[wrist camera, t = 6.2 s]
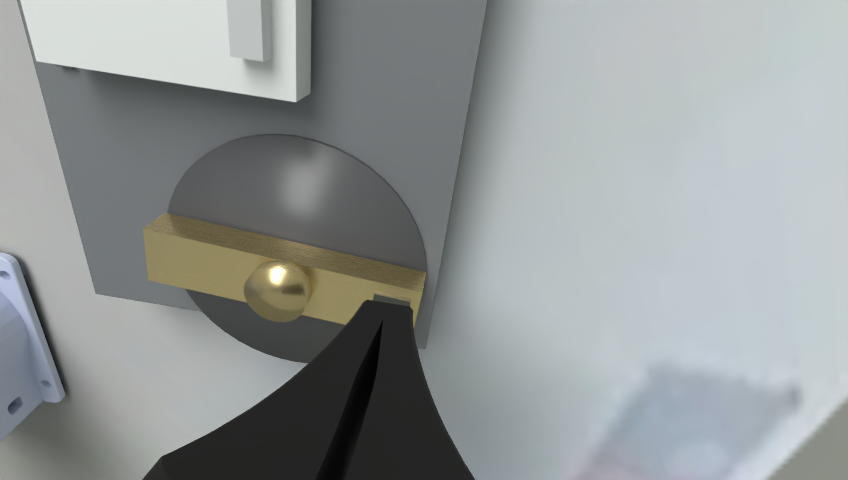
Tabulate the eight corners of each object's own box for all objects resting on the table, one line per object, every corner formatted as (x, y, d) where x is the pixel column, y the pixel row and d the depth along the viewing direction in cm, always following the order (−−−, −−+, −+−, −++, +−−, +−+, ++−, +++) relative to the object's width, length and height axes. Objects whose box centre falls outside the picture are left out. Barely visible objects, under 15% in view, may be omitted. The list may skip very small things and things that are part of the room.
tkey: (169, 261, 16) (136, 290, 15) (165, 212, 15) (130, 237, 14) (414, 317, 17) (408, 351, 15) (426, 272, 16) (420, 303, 14)
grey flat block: (426, 330, 21) (419, 382, 18) (150, 284, 21) (100, 328, 18) (514, -169, 12) (525, -215, 10) (48, -236, 13) (-72, -300, 10)
